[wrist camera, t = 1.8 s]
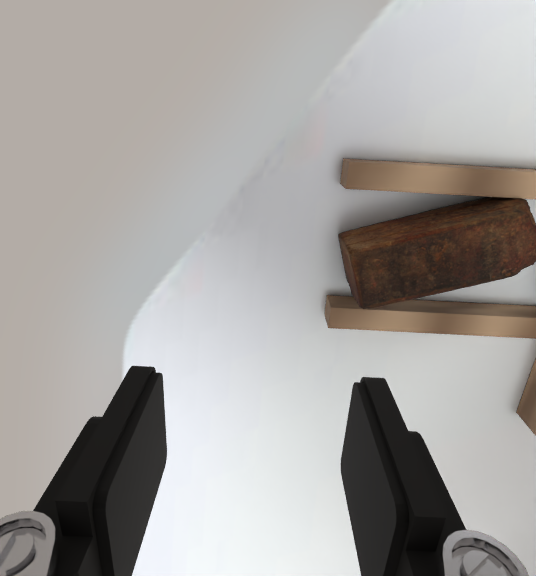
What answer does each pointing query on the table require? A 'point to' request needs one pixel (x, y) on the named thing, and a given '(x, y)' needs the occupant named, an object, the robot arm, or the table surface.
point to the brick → (438, 250)
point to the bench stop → (441, 313)
